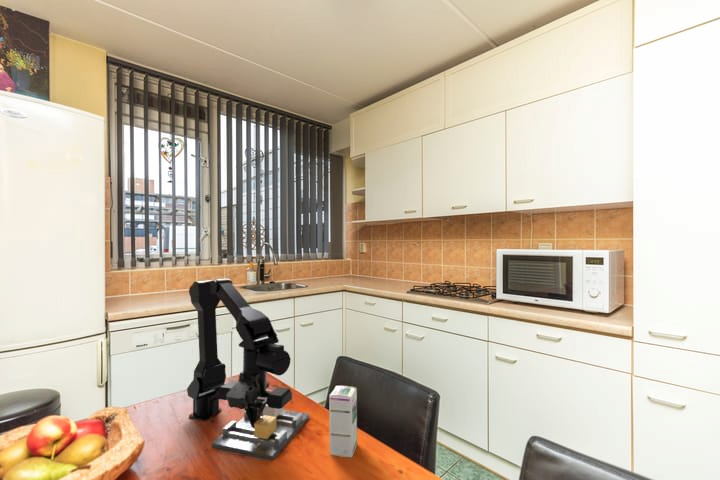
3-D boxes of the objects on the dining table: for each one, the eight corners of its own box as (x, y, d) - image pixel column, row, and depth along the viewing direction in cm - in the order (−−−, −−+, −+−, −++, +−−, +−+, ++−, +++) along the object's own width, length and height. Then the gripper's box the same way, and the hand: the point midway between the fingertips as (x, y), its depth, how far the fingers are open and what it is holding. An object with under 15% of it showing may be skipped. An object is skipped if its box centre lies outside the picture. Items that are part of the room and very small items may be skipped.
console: (211, 447, 82) (211, 435, 82) (258, 409, 101) (258, 399, 101) (271, 460, 77) (272, 447, 77) (309, 418, 96) (309, 407, 96)
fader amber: (254, 441, 82) (254, 423, 82) (264, 432, 86) (264, 414, 86) (266, 444, 81) (266, 425, 81) (276, 434, 85) (276, 416, 85)
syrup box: (352, 458, 78) (352, 396, 78) (328, 455, 79) (328, 394, 79) (357, 444, 83) (357, 386, 84) (335, 441, 85) (335, 384, 85)
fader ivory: (263, 421, 91) (263, 404, 92) (271, 413, 96) (271, 397, 96) (274, 423, 90) (274, 406, 91) (282, 415, 95) (282, 399, 95)
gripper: (201, 373, 80) (201, 438, 79) (269, 382, 74) (268, 452, 74) (232, 358, 90) (231, 415, 90) (293, 365, 85) (292, 426, 85)
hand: (254, 427), depth 84 cm, fingers closed
